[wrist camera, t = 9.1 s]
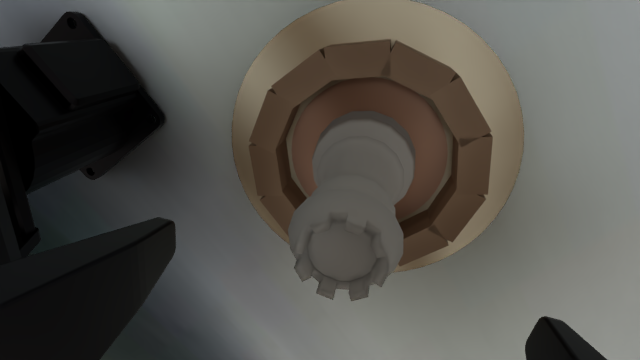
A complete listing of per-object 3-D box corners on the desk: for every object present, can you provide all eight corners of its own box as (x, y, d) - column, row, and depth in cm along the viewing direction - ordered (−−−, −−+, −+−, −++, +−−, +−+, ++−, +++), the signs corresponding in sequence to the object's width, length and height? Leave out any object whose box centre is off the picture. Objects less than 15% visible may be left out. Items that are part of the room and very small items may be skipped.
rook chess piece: (405, 96, 15) (411, 166, 8) (423, 192, 17) (443, 323, 10) (304, 120, 16) (232, 199, 9) (330, 207, 18) (285, 333, 11)
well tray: (334, 293, 22) (327, 327, 19) (189, 110, 19) (159, 123, 16) (567, 192, 17) (595, 221, 14) (420, -80, 14) (425, -101, 11)
